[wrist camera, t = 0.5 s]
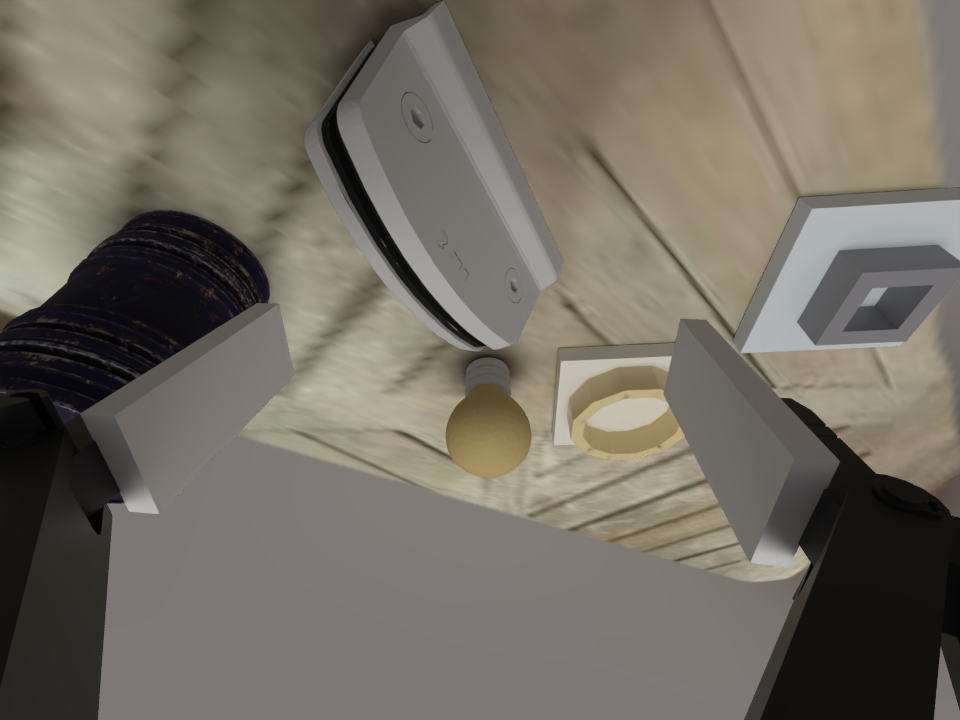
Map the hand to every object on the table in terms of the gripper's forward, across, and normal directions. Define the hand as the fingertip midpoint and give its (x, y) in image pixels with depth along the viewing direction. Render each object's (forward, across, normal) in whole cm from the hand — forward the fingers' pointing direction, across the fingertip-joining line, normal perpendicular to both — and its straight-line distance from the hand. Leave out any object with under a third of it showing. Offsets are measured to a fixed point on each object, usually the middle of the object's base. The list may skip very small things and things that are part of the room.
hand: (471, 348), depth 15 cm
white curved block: (+16, -3, +4) cm, 16 cm away
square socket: (+20, +24, -2) cm, 31 cm away
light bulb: (+20, -1, -12) cm, 23 cm away
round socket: (+22, +11, -15) cm, 29 cm away
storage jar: (+16, -21, -2) cm, 27 cm away
